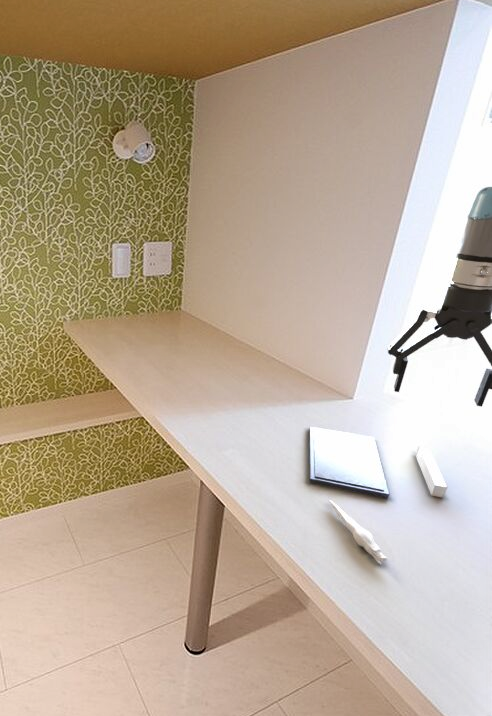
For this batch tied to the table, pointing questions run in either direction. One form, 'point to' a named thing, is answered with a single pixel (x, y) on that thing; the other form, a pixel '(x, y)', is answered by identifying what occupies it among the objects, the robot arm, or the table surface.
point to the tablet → (346, 462)
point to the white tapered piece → (360, 535)
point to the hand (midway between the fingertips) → (435, 396)
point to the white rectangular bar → (431, 472)
